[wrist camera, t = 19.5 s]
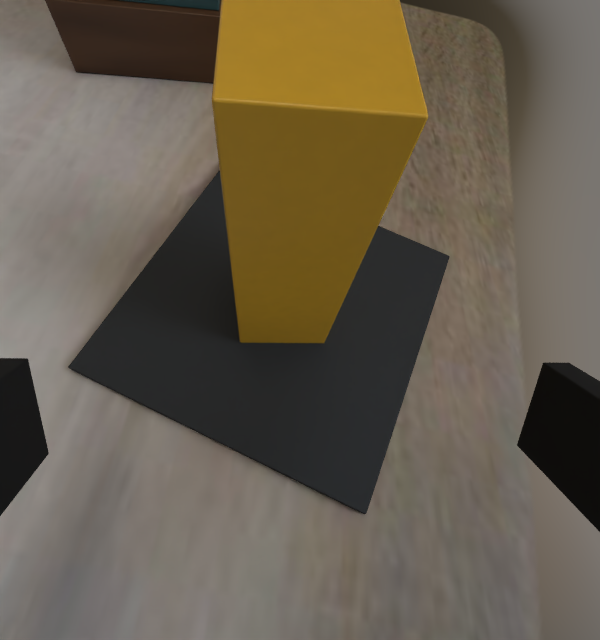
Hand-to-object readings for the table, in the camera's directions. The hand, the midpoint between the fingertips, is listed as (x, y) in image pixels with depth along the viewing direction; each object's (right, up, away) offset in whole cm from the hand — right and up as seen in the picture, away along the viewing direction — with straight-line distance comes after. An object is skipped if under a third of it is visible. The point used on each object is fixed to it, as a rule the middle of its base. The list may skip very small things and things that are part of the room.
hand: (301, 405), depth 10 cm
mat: (-1, +3, +9) cm, 10 cm away
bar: (-1, +3, +9) cm, 9 cm away
